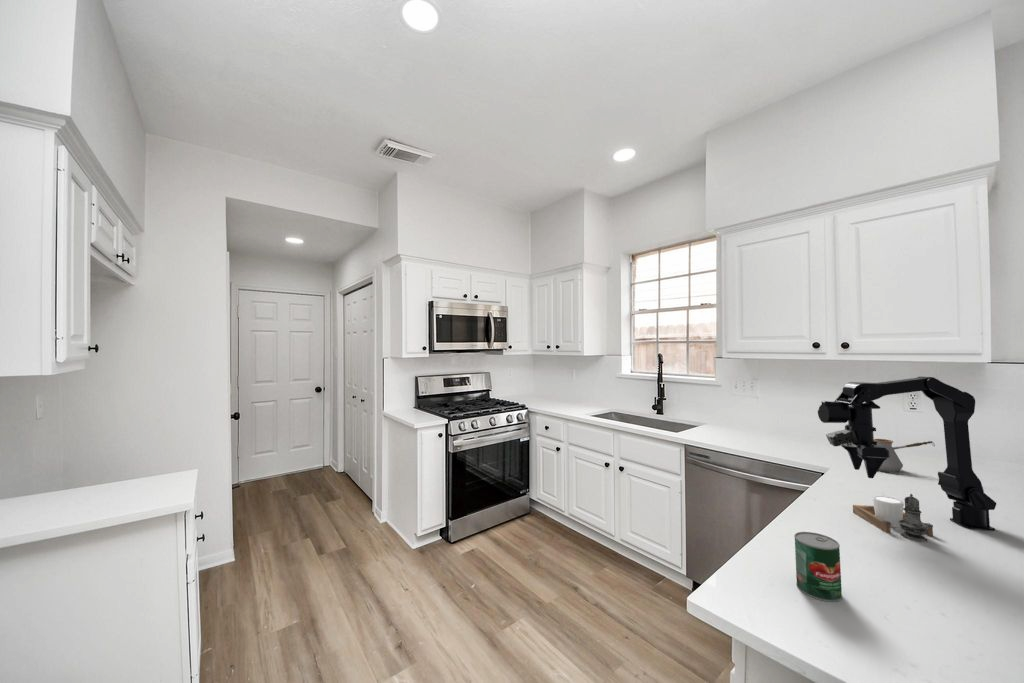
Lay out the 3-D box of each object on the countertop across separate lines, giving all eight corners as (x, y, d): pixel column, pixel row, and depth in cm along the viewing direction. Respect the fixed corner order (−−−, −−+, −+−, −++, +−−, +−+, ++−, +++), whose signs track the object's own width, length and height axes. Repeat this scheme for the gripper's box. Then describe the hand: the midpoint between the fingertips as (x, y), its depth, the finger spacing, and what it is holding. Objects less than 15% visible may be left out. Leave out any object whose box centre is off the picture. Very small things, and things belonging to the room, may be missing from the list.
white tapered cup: (896, 519, 120) (895, 496, 120) (910, 529, 114) (909, 504, 114) (868, 517, 122) (867, 494, 123) (881, 526, 116) (879, 502, 116)
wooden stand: (893, 514, 124) (893, 504, 124) (933, 536, 109) (932, 525, 109) (852, 512, 126) (852, 502, 126) (886, 533, 111) (885, 522, 111)
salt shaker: (935, 543, 105) (932, 498, 106) (909, 541, 106) (907, 496, 107) (917, 533, 111) (915, 490, 111) (893, 531, 112) (891, 489, 113)
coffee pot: (863, 469, 172) (861, 434, 172) (872, 464, 178) (870, 431, 179) (933, 481, 154) (930, 443, 154) (940, 476, 160) (938, 439, 161)
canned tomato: (828, 606, 80) (825, 551, 80) (788, 585, 87) (786, 535, 88) (850, 595, 83) (847, 543, 84) (809, 577, 90) (807, 529, 91)
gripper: (818, 417, 133) (820, 463, 132) (840, 427, 115) (843, 480, 115) (859, 418, 129) (862, 466, 128) (888, 428, 111) (892, 484, 111)
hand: (863, 473), depth 120 cm, fingers open, 9 cm apart
